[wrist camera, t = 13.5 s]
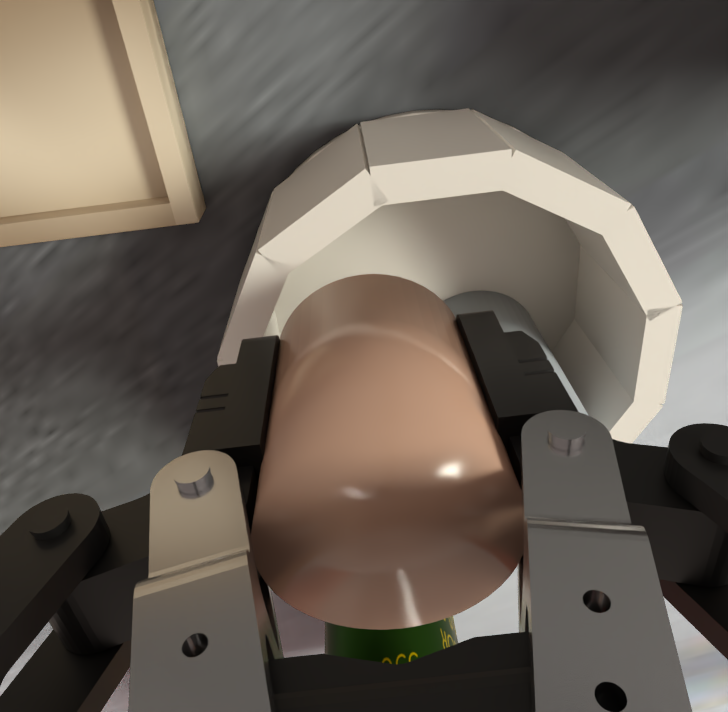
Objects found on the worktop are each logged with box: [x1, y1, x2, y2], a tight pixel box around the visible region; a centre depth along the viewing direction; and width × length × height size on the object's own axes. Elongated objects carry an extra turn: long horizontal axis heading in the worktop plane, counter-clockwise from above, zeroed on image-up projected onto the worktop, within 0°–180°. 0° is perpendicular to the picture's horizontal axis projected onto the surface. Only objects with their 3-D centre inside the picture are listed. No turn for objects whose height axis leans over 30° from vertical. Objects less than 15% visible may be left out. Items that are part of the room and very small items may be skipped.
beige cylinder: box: [251, 274, 523, 630], centre depth 11 cm, size 4×4×5 cm
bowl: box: [217, 108, 683, 444], centre depth 17 cm, size 11×11×5 cm
